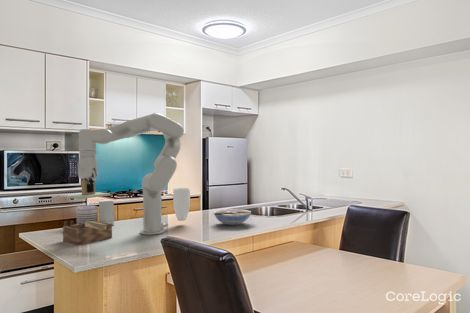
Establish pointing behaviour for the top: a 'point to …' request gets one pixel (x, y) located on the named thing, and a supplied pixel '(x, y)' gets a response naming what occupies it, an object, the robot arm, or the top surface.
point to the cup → (181, 202)
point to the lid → (85, 193)
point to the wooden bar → (95, 225)
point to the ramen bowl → (232, 216)
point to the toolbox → (85, 233)
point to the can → (86, 213)
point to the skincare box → (106, 211)
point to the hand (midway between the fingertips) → (88, 191)
